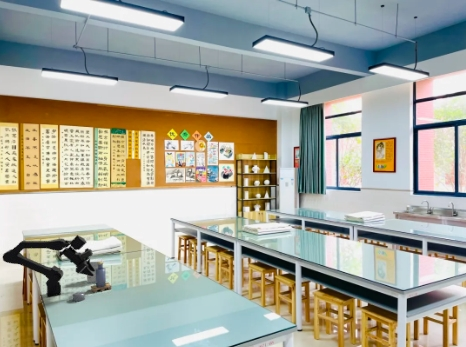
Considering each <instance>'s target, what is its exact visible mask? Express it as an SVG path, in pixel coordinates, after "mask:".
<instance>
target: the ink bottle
mask: <svg viewBox="0 0 466 347" xmlns="http://www.w3.org/2000/svg"><path fill="white" fill-rule="evenodd" d="M97 264H98V268H97V269H96V282H95V285H96V287H98V288H100V287H104V286H106V283H107V281H106V279H107V278H106V277H107V276H106V268H105V267H104V261H103V260H102V261H100V262H97Z"/></svg>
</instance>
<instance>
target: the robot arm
mask: <svg viewBox="0 0 466 347" xmlns="http://www.w3.org/2000/svg"><path fill="white" fill-rule="evenodd" d="M86 244H87V240H86V239H85V238H84V237H82V236H80V235H78V234H77V235H76V236H75V237H74V238H73V239H72V240H65V239H64V238H56V239H55V238H54V239H51V240H26V239H25V240H21V241H20V242H19V243H18V244H17V245H15V247H13V248H12V249H9V250H7V251H6V252H5V253H3V254H2V261H3V262H5V263H8V264H14V265H20V266H22V267H25V268H27V269H29V270H32V271H34V272H37V273H38V274H41V275H43V276H45V277H46V278H47V280H46V282H45V285H46V294H45V295H46V296H47V297H48V298H51V297H55V296H60V295H61V293H62V285H61V283H60V281H61V280H62V279H63V277H64V271H63V269H62V268H61V267H58V266H56V265H53V266H52V267H51V266H50V267H49V266H46V265H45V264H42V263H40V262H38V261H36V260H35V261H34V260H33V259H30V258H28V257H26V256H24V255H23V254H22V253H21V252H22V251H23V250H24V249H25V250H26V249H27V250H28V249H48V250H51V251H56V252H57V251H58V253H59V255H58V257H59V258H61V257H62V256H64V257H65V258H67V259H68V260H69V262H70V263H71V264H72V263H73V264H74V265H75V267H76V268H75V272H76V273H77V274H80V275H85V276H87V275H89V276H93V275H94V274H93V273H92V272H91V271H93V272H94V271H95V269H94V268H93V266H92V265H91V263H90V260H91V257H92V256H93V254H94V253H93V250H92V249H91V248H89V247H87V248H85V249H84V251H83V252H79V250H81V249H82V248H83V247H84V246H85V245H86ZM77 250H78V251H77Z"/></svg>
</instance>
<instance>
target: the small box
mask: <svg viewBox="0 0 466 347" xmlns="http://www.w3.org/2000/svg"><path fill="white" fill-rule="evenodd" d="M100 261H103V258H95V259H91V258H90V263H91V265H92V266H93V268H94V269H95V271H94V272H93V271H91V272H92V273H93V274H94V275H93V276H89V275H86V280H87V281H86V282H87V283H96V269H97V268H98V264H97V262H100Z"/></svg>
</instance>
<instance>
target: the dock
mask: <svg viewBox="0 0 466 347" xmlns="http://www.w3.org/2000/svg"><path fill="white" fill-rule="evenodd" d="M112 287H113V286H112V284H110V283H109V282H106V286H104V287H100V288H98V287H96V284H93V285H90V290H91V291H92V292H93V293H95V294H96V293H98V291H100V292H104V291H105V289H106V290H109V291H110V290H112Z"/></svg>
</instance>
